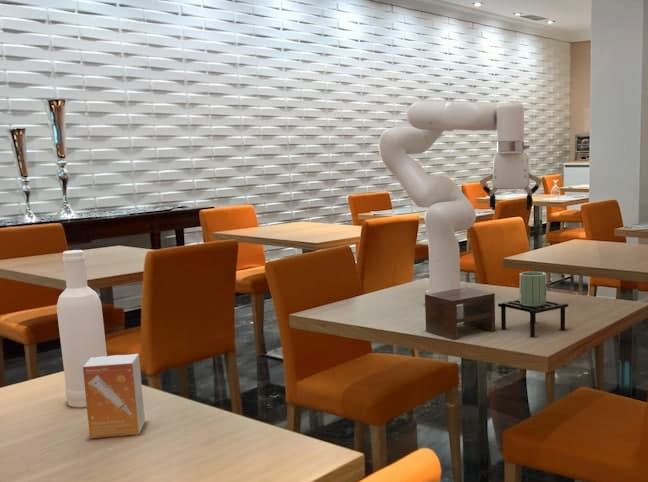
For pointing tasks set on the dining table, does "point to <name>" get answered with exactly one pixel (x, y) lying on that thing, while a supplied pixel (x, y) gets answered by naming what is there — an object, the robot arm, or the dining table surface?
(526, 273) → the cup
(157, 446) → the dining table surface
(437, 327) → the shelf
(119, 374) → the small box
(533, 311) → the rack
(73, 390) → the bottle
